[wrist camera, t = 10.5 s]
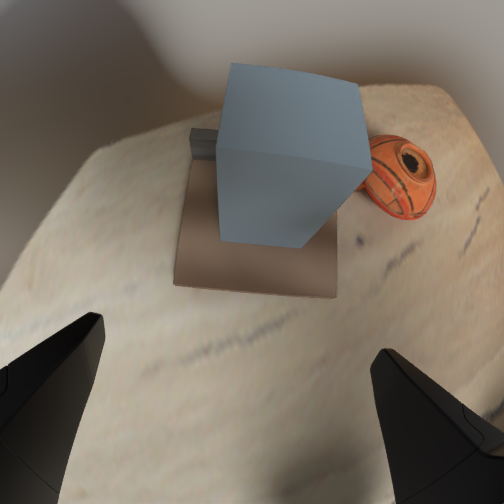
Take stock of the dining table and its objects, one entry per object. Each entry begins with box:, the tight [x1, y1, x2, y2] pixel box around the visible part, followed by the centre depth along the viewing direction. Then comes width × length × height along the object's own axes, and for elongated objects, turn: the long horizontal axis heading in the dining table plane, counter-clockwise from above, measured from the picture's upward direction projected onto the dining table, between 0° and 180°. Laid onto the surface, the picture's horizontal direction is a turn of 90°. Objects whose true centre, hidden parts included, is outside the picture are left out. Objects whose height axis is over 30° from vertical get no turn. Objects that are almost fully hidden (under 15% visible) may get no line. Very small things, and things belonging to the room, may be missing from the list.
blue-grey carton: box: [216, 63, 373, 249], centre depth 17 cm, size 5×6×12 cm
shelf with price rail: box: [173, 128, 337, 299], centre depth 21 cm, size 11×12×4 cm
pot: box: [356, 135, 436, 220], centre depth 23 cm, size 8×8×7 cm
